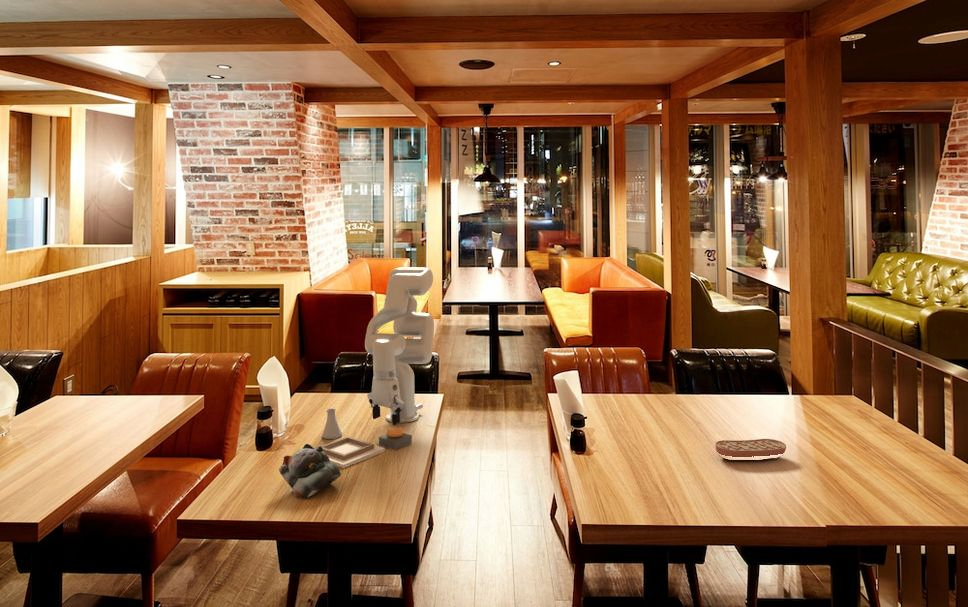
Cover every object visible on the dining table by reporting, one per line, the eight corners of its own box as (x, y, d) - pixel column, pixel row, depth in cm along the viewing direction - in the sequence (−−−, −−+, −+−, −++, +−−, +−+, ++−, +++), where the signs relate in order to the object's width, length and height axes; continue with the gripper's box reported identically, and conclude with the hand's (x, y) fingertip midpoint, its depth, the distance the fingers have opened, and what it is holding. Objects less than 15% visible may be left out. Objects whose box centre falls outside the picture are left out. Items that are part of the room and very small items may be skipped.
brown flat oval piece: (775, 452, 214) (776, 438, 214) (792, 463, 204) (793, 448, 204) (709, 455, 212) (710, 440, 211) (724, 466, 202) (724, 451, 201)
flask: (337, 440, 226) (336, 413, 224) (318, 439, 227) (317, 412, 226) (345, 433, 233) (344, 407, 231) (327, 432, 234) (326, 406, 233)
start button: (395, 437, 226) (395, 425, 225) (407, 441, 222) (407, 429, 222) (383, 442, 221) (382, 430, 221) (395, 446, 218) (395, 433, 217)
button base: (395, 438, 227) (395, 430, 227) (411, 443, 223) (411, 435, 222) (378, 445, 221) (378, 436, 221) (395, 450, 216) (395, 441, 216)
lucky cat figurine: (297, 504, 176) (276, 458, 177) (292, 504, 187) (272, 460, 188) (346, 477, 183) (326, 433, 184) (338, 479, 194) (319, 437, 195)
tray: (349, 440, 226) (348, 432, 226) (384, 451, 215) (384, 443, 215) (307, 455, 212) (306, 447, 211) (343, 468, 201) (343, 460, 201)
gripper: (410, 376, 219) (411, 423, 223) (375, 367, 230) (377, 412, 233) (394, 381, 214) (396, 429, 217) (359, 372, 224) (361, 418, 227)
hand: (386, 420), depth 225 cm, fingers open, 9 cm apart
